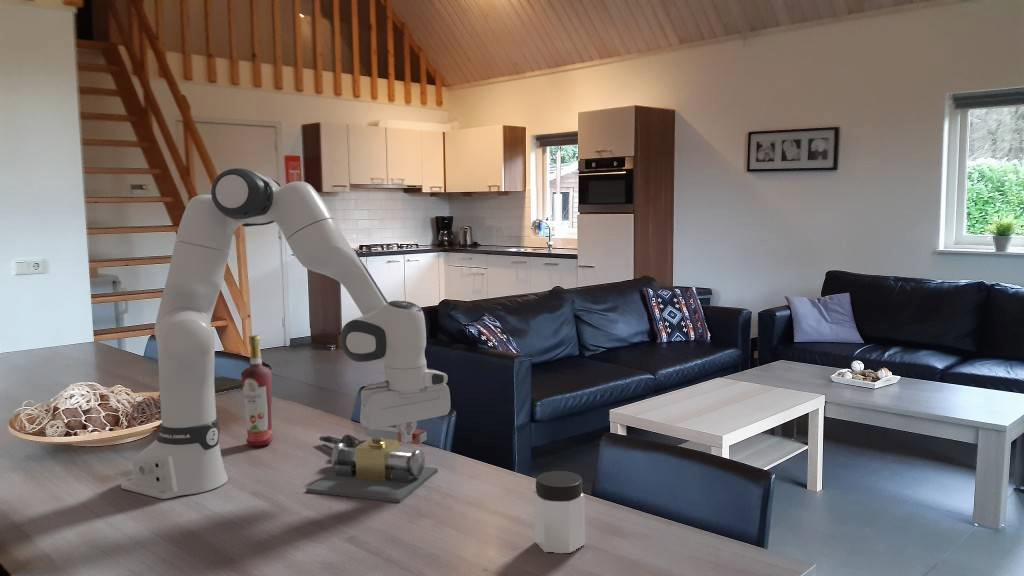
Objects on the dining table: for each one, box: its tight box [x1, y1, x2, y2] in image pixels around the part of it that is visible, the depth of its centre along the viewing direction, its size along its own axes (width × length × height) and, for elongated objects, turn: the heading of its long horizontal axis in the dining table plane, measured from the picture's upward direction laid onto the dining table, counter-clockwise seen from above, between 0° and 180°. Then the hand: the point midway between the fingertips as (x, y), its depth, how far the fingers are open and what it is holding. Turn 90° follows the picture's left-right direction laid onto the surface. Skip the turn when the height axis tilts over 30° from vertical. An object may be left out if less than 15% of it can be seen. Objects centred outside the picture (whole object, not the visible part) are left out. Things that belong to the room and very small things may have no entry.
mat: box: [305, 466, 439, 503], centre depth 170 cm, size 22×19×1 cm
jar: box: [533, 470, 586, 554], centre depth 137 cm, size 9×8×12 cm
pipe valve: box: [330, 437, 426, 483], centre depth 171 cm, size 20×7×8 cm, turn 72°
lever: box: [365, 426, 428, 445], centre depth 169 cm, size 14×3×3 cm, turn 65°
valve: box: [319, 434, 368, 448], centre depth 189 cm, size 6×26×15 cm
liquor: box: [240, 334, 275, 448], centre depth 196 cm, size 7×7×28 cm
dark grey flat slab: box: [214, 376, 243, 393], centre depth 256 cm, size 16×23×2 cm
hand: (406, 442), depth 165 cm, fingers closed
